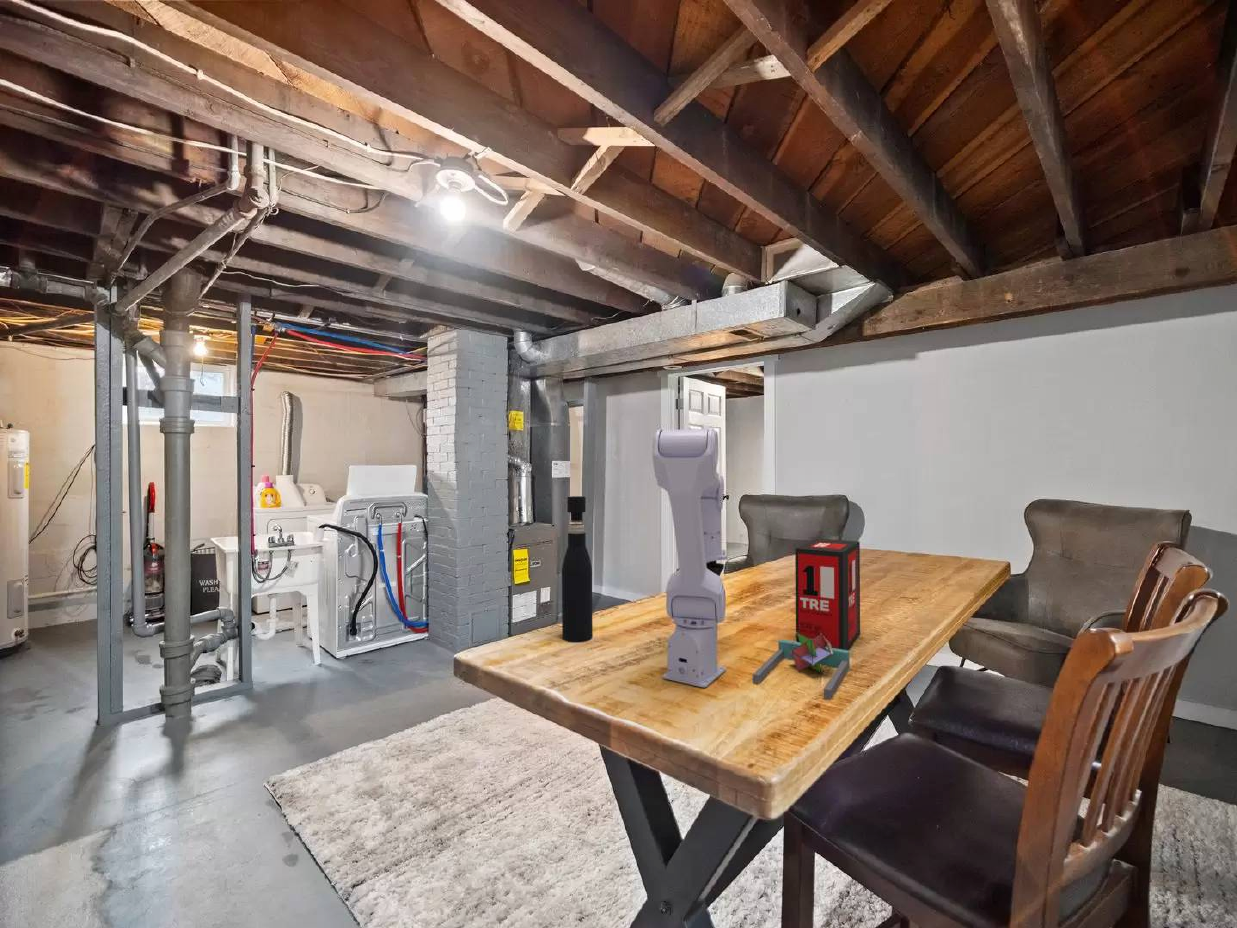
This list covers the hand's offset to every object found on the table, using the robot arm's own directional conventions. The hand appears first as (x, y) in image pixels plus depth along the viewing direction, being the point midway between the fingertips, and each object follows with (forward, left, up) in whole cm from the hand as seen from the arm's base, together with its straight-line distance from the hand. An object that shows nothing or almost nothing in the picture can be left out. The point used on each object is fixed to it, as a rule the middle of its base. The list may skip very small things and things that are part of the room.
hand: (707, 600), depth 111 cm
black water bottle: (-9, +26, -10) cm, 29 cm away
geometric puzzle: (-2, -21, -10) cm, 23 cm away
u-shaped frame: (-5, -20, -9) cm, 23 cm away
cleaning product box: (+16, -20, -10) cm, 27 cm away
